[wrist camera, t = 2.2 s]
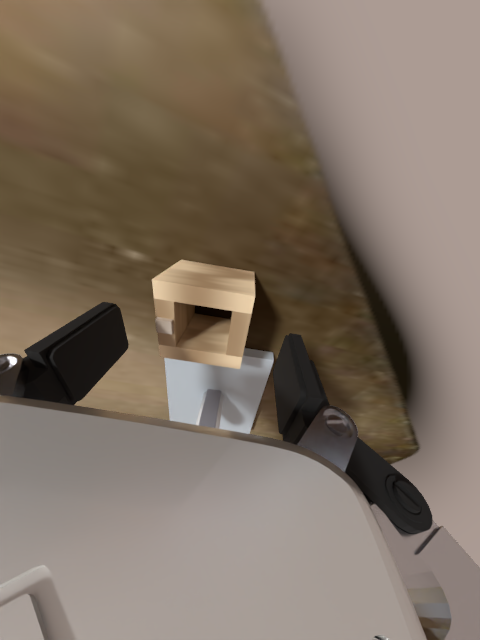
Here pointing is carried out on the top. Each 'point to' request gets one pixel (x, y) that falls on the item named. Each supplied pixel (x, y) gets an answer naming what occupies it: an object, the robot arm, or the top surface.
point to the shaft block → (218, 391)
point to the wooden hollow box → (196, 329)
